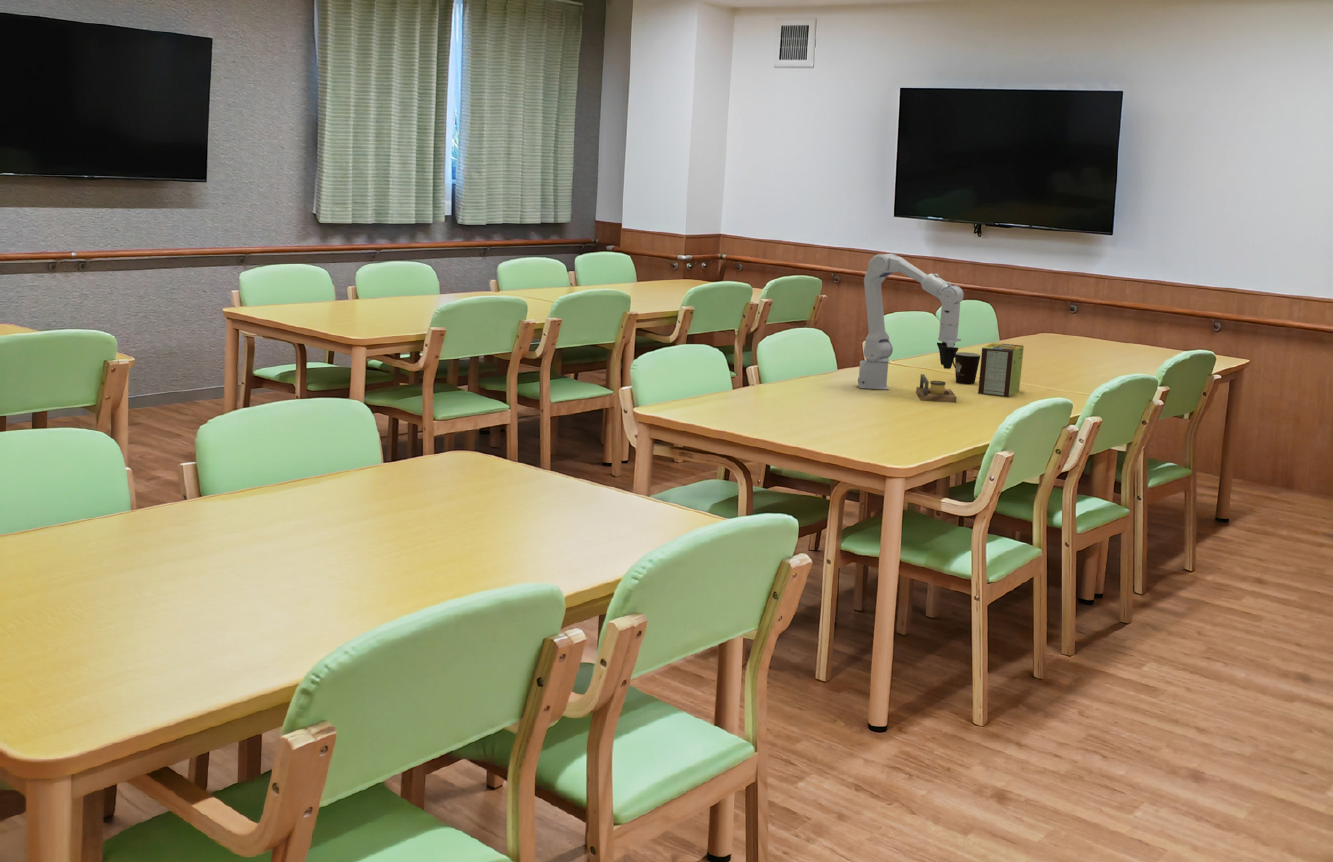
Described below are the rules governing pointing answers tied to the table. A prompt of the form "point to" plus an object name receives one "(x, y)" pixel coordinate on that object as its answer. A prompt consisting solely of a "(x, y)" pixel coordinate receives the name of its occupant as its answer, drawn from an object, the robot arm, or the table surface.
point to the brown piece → (925, 394)
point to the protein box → (1000, 369)
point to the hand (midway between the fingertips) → (945, 366)
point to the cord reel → (937, 387)
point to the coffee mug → (966, 367)
